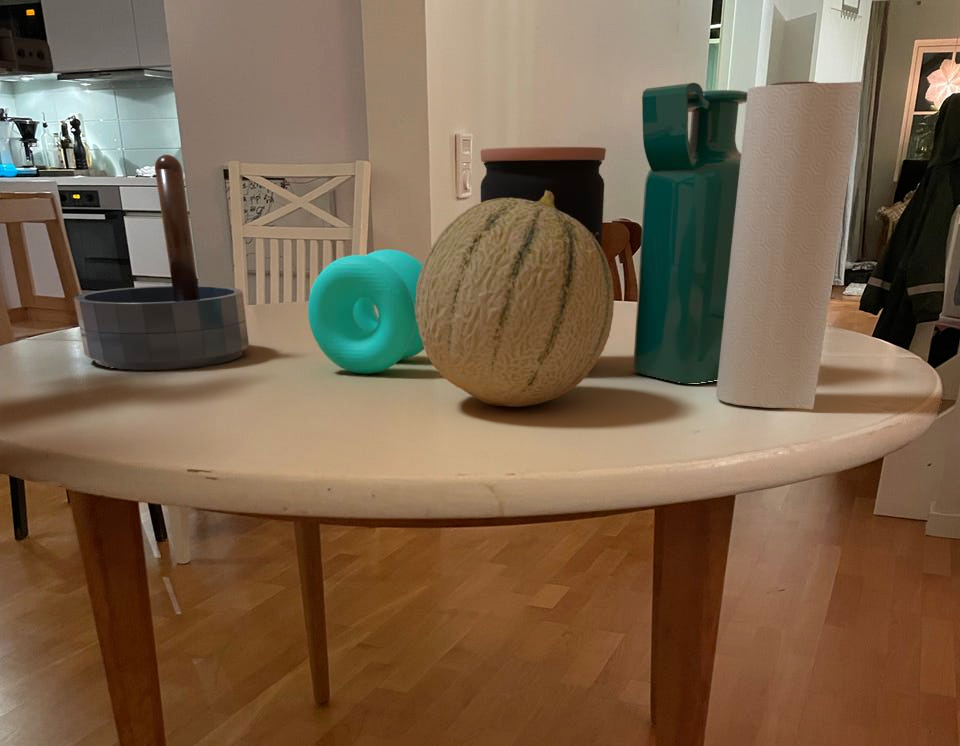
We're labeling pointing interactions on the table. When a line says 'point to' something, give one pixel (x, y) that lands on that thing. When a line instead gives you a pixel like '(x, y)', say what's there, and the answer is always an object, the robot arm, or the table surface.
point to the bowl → (162, 327)
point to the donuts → (367, 310)
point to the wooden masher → (176, 228)
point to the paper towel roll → (785, 240)
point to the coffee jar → (549, 179)
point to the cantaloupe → (515, 302)
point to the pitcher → (686, 230)
